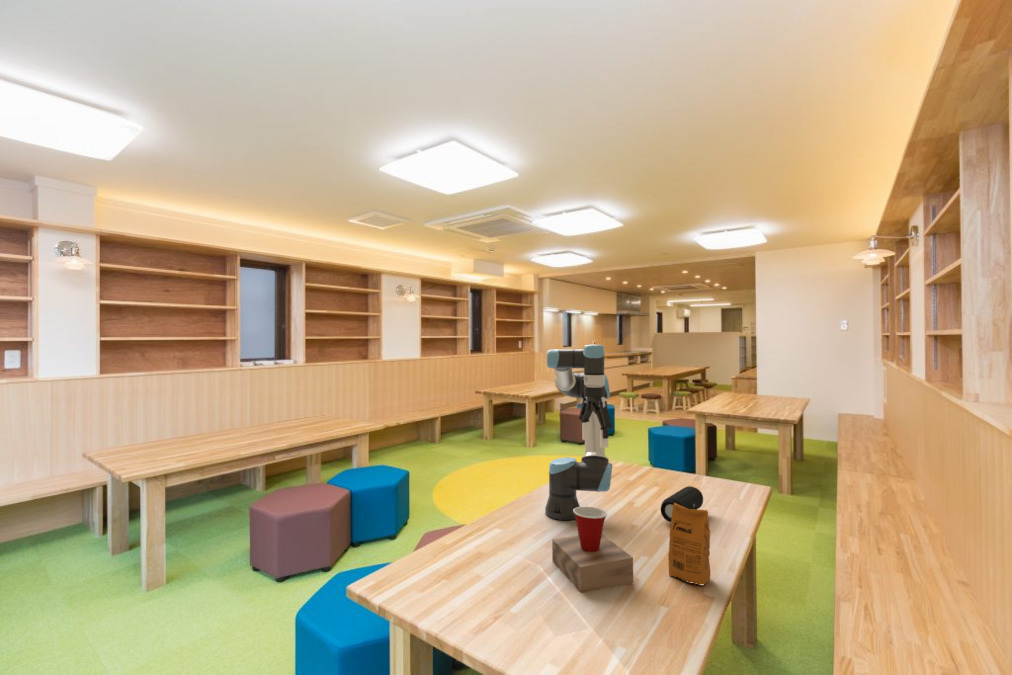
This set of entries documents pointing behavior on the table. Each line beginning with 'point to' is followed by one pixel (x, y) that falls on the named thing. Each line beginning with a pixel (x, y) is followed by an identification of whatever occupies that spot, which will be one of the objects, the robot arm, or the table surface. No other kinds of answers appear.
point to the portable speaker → (682, 501)
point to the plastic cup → (590, 527)
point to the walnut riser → (592, 564)
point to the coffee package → (689, 545)
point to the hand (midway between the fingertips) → (594, 443)
